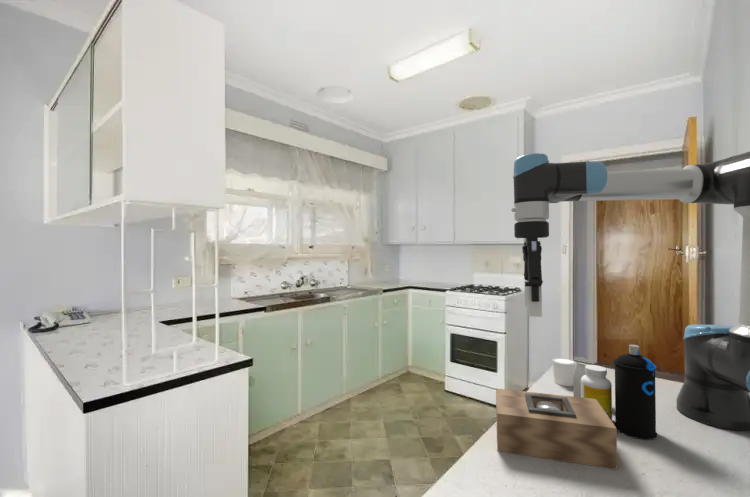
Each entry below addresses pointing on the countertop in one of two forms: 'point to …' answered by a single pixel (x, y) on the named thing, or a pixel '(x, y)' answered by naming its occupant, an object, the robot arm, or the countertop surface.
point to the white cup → (563, 371)
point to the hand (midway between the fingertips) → (532, 311)
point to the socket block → (555, 428)
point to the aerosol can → (635, 395)
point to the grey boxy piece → (578, 379)
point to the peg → (548, 405)
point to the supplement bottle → (597, 387)
